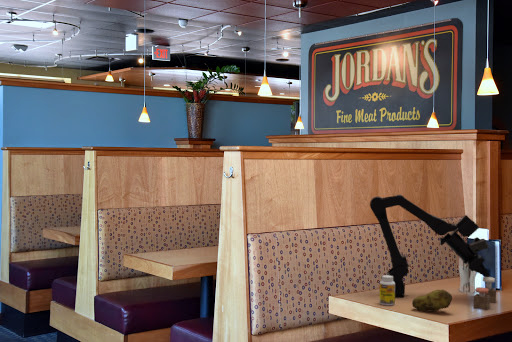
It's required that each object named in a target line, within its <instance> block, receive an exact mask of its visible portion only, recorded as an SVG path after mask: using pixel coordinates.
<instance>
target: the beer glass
mask: <svg viewBox="0 0 512 342" xmlns="http://www.w3.org/2000/svg"><path fill="white" fill-rule="evenodd" d="M475 256H476V255H475ZM458 258H459V259H458V271H459V276H460V277H459V278H460V284H459V285H460V286H459V290H458V291H459V292H461V293H465V294H473V293H475V294H476V288H475V287H476V286H475V279H476V275H477V272H475V271H471V270H470V269H469V268H468V266H467V264H465V263H464V262H463V261H462V259H461V258H460V257H459V256H458Z"/></svg>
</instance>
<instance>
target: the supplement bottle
mask: <svg viewBox="0 0 512 342" xmlns="http://www.w3.org/2000/svg"><path fill="white" fill-rule="evenodd" d="M378 291H379V295H378V296H379V299H378V300H379V301H378V302H379V304H380V305H382V306H393V305H394V304H395V302H396V301H395V299H396V297H395V282H394V281H393V276H389V275H387V274H386V275H385V274H384V275H381V280H380V281H379V290H378Z"/></svg>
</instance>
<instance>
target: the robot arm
mask: <svg viewBox="0 0 512 342" xmlns="http://www.w3.org/2000/svg"><path fill="white" fill-rule="evenodd" d="M396 206H397V207H398V206H399V207H401V208H402V209H404V210H405V211H407V212H408V213H410V214H412V215H413V216H414V217H416V218H417V219H419V220H420V221H422V222H424V223H425V225H427V226H428V227H429V228H430V229H431V230H432V231H433V232H434V233H435V234H436V235H437V236H441V237H439V245H441V246H443V245H444V244H446V245H447V246H448V247H449V248H450V249H451V250H452V251H453V253H454V254H456V255H457V256H458V258H459V257H460V258H461V259H462V261H463V262H464V263H465V264H467V266H468V268H469V269H470V270H471V271H475V272H476V273H477V274H480V275H482V276H483V277H491V275H490V273H489V272H488V270H487V268H486V267H485V265H484V264H483V263H484V262H485V261H486V259H485V258H484V257H483V256H482V255H480V254H479V253H478V252H481V251H483V250H486V249H489V245H488V242H487V240H486V239H485V238H480V237H477V236H476V237H474V238H473V241H472V243H469V242H468V241H465V239H464V238H469V237H471V236H472V235H473V234H475V232H476V231H477V230H479V228H480V226H479V225H478V224H477V223H476V222H475V221H473V220H472V219H471V218H470V217H469V216H468V215H467V214H465V215H463V217H461V219H460V220H459V221H458V222H457V223H453V222H452V223H450V222H447V221H446V220H445V219H442V218H440V217H438V216H436V215H433V214H431V213H429V212H427V211H425V210H424V209H422V208H421V207H420V206H419V205H417V204H415V203H413V202H412V201H410V200H408V199H407V198H406V197H405V196H403V194H396V195H391V196H385V197H381V196H377V195H376V196H374V197H372V198H371V200H370V201H369V207H370V209H371V211H372V212H373V215H374V216H375V218H376V219H377V221H378V223H379V226H380V229H381V232H382V234H383V237H384V240H385V243H386V246H387V249H388V252H389V255H390V261H391V266H392V267H391V268H390V269H389V270H388V271H387V273H386V275H389V276H393V281H394V282H395V298H404V296H405V293H406V292H405V291H406V285H405V282H404V277H406V276H407V275H408V274H409V267H410V264H409V262H408V261H407V256H406V254H403V255H402V253H401V252H400V249H399V247H398V244H397V242H396V238H395V236H394V233H393V230H392V228H391V225H390V224H391V223H390V221H389V220H388V215H387V214H388V212H387V209H388V208H392V207H396ZM450 232H451V233H450ZM460 235H461V236H460ZM442 236H443V237H442ZM475 255H476V256H475Z"/></svg>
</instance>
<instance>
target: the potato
mask: <svg viewBox="0 0 512 342" xmlns="http://www.w3.org/2000/svg"><path fill="white" fill-rule="evenodd" d="M452 301H453V295H452V294H451V293H450V292H449V291H447V290H445V289H436V290H432V291H430V292H429V293H426V294H423V295H419V296H416V297H415V298H413V300H412V304H411V305H412V307H413V308H415V309H416V310H417V311H425V312H427V311H428V312H436V311H439V310H441V309H447V308H449V306H450V305H451V302H452Z"/></svg>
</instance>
